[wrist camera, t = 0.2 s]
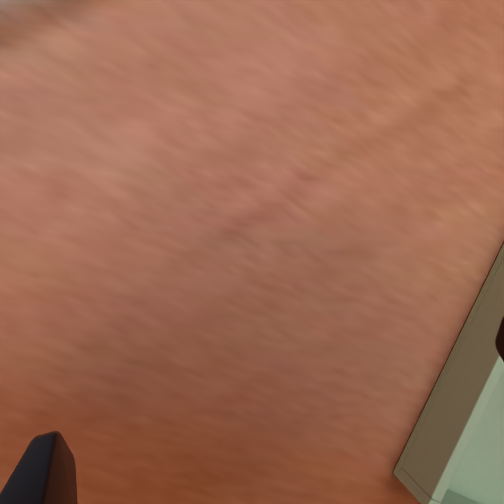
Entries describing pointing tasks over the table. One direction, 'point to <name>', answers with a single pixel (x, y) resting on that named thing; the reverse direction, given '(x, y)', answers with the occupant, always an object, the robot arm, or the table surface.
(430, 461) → the box
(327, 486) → the table surface
